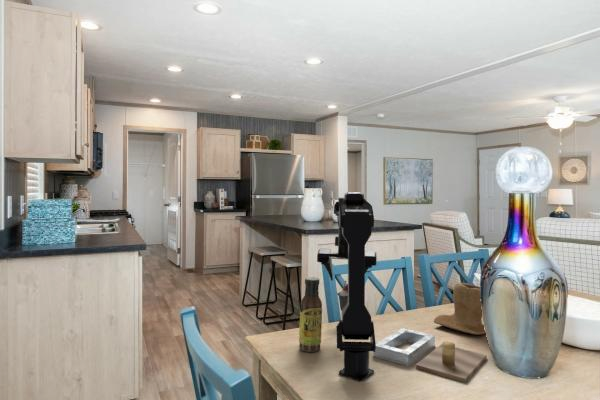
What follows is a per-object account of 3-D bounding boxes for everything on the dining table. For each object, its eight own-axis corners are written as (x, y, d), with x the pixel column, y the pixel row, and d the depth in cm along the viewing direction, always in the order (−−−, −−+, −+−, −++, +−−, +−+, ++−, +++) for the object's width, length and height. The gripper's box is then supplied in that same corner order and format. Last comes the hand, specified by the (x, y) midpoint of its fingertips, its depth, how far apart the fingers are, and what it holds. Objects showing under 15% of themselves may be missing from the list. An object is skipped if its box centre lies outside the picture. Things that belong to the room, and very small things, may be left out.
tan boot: (495, 331, 128) (496, 285, 128) (477, 340, 121) (478, 290, 120) (451, 320, 140) (452, 277, 140) (432, 327, 132) (433, 281, 132)
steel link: (408, 366, 102) (408, 354, 102) (373, 356, 108) (373, 345, 108) (434, 345, 116) (434, 335, 116) (402, 337, 122) (402, 327, 122)
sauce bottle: (303, 354, 109) (303, 281, 109) (296, 346, 115) (296, 276, 115) (325, 351, 111) (325, 280, 111) (316, 343, 117) (317, 275, 117)
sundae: (340, 328, 131) (341, 282, 131) (333, 321, 137) (334, 277, 137) (359, 326, 133) (360, 281, 132) (351, 320, 139) (352, 276, 139)
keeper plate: (465, 382, 93) (465, 357, 93) (415, 368, 101) (416, 344, 101) (486, 358, 107) (486, 336, 107) (441, 347, 115) (441, 326, 115)
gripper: (376, 229, 134) (374, 272, 138) (321, 226, 137) (320, 269, 141) (377, 240, 124) (375, 287, 127) (317, 237, 126) (316, 283, 130)
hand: (346, 281), depth 132 cm, fingers open, 9 cm apart
